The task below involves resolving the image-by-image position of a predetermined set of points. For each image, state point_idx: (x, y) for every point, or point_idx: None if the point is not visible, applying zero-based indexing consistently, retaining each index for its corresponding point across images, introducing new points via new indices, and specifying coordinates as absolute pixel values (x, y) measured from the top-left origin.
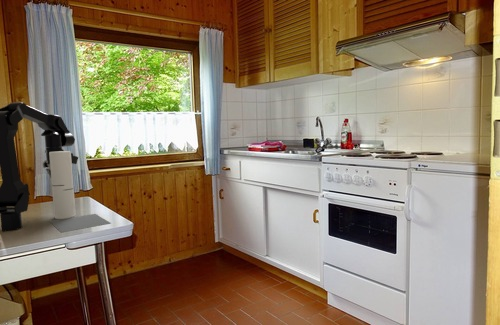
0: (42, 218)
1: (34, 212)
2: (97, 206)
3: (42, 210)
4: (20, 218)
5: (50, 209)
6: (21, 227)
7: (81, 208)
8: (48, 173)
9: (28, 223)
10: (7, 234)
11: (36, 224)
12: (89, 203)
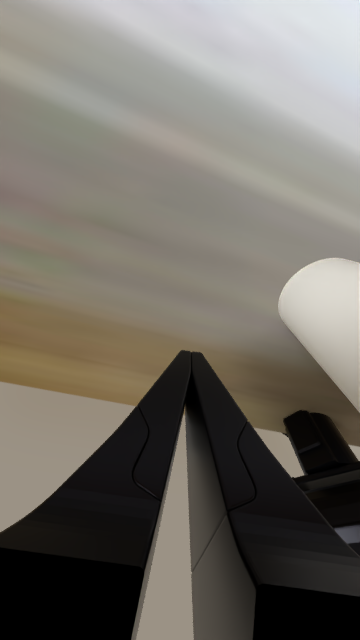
0: (262, 357)
1: (123, 343)
2: (253, 20)
3: (103, 315)
4: (346, 444)
5: (104, 288)
6: (328, 417)
7: (213, 164)
8: (120, 578)
9: (290, 395)
10: (356, 442)
11: (331, 388)
12: (67, 15)
